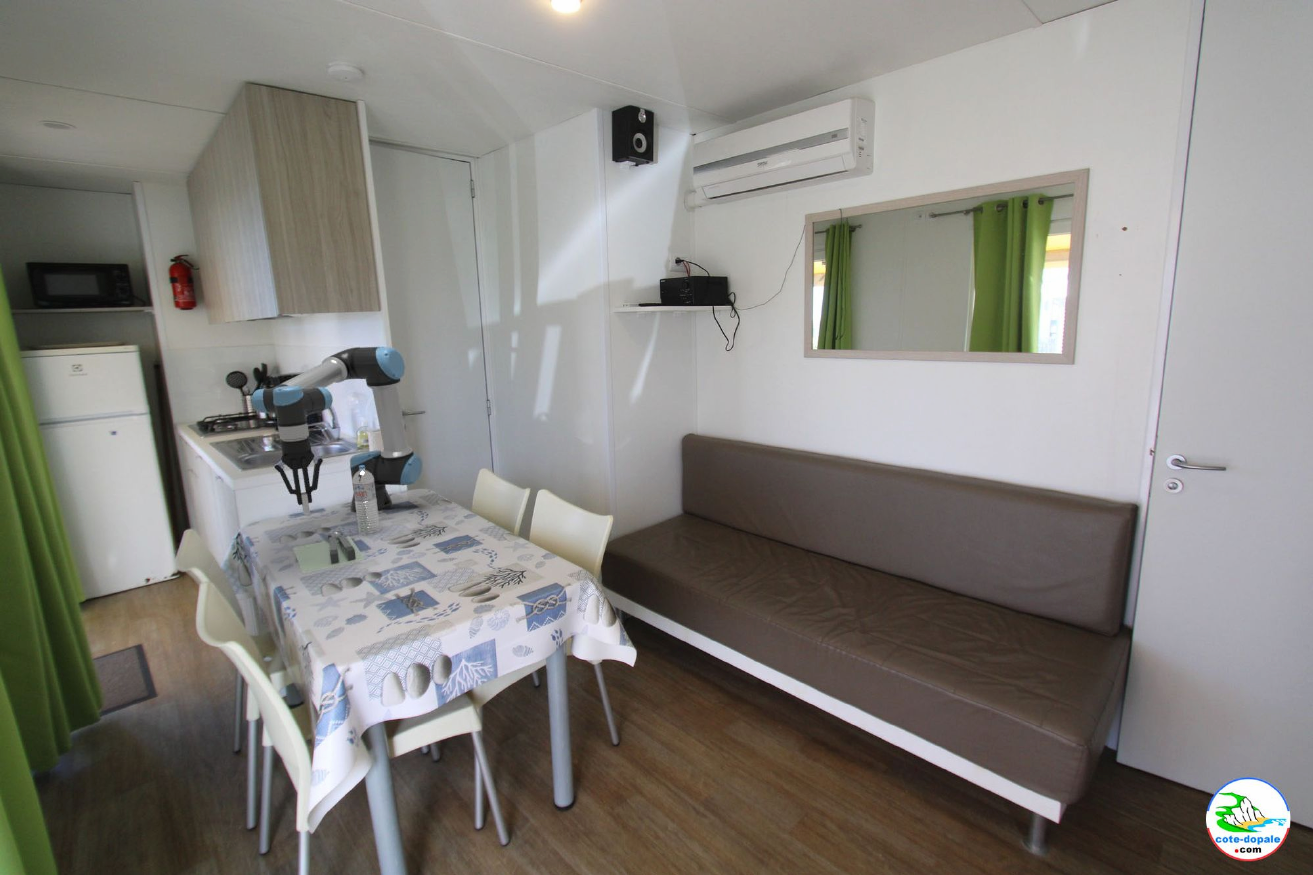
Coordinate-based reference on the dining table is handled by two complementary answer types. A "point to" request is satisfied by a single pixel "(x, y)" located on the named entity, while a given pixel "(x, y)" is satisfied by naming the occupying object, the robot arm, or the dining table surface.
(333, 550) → the bar
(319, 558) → the board
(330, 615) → the dining table surface
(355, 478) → the water bottle
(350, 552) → the tongs fixed
